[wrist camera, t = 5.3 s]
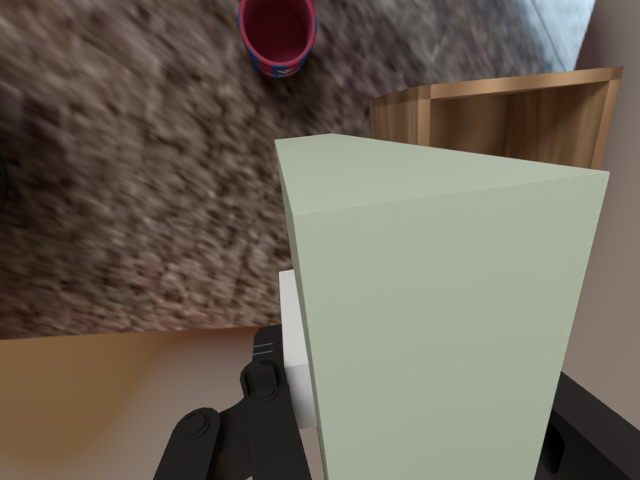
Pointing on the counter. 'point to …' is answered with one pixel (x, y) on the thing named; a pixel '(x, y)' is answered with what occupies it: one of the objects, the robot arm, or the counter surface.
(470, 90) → the carcass
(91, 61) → the counter surface
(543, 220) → the door
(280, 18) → the mug
